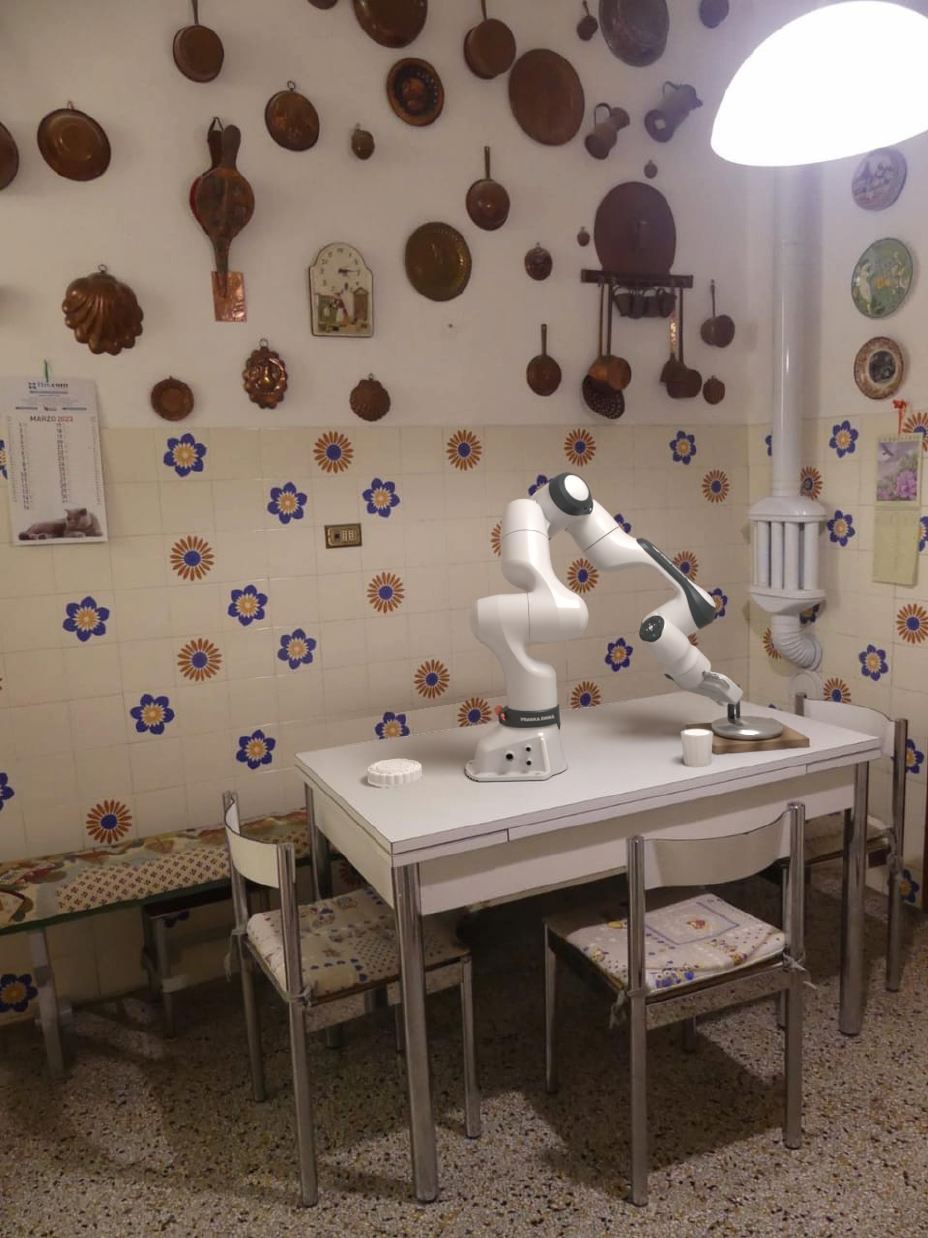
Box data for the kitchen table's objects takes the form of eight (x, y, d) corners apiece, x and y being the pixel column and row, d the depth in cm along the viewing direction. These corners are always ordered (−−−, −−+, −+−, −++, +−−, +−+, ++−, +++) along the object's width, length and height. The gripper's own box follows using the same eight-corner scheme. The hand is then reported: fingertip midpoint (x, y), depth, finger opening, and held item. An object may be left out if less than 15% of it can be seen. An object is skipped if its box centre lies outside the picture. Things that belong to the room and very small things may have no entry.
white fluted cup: (714, 768, 203) (714, 736, 202) (681, 767, 205) (681, 736, 204) (712, 758, 210) (712, 728, 209) (681, 758, 211) (680, 728, 210)
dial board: (715, 754, 213) (715, 744, 212) (685, 732, 232) (685, 723, 232) (809, 747, 215) (809, 737, 214) (772, 725, 234) (772, 716, 234)
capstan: (795, 736, 216) (795, 695, 214) (729, 742, 213) (728, 701, 212) (762, 719, 232) (761, 681, 230) (700, 725, 229) (699, 686, 228)
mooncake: (383, 770, 215) (382, 755, 214) (431, 774, 210) (430, 758, 209) (357, 787, 204) (356, 770, 203) (407, 791, 199) (406, 774, 199)
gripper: (727, 665, 214) (761, 701, 220) (672, 652, 233) (705, 686, 238) (712, 687, 213) (746, 723, 218) (657, 672, 232) (691, 706, 237)
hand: (724, 704), depth 228 cm, fingers closed
